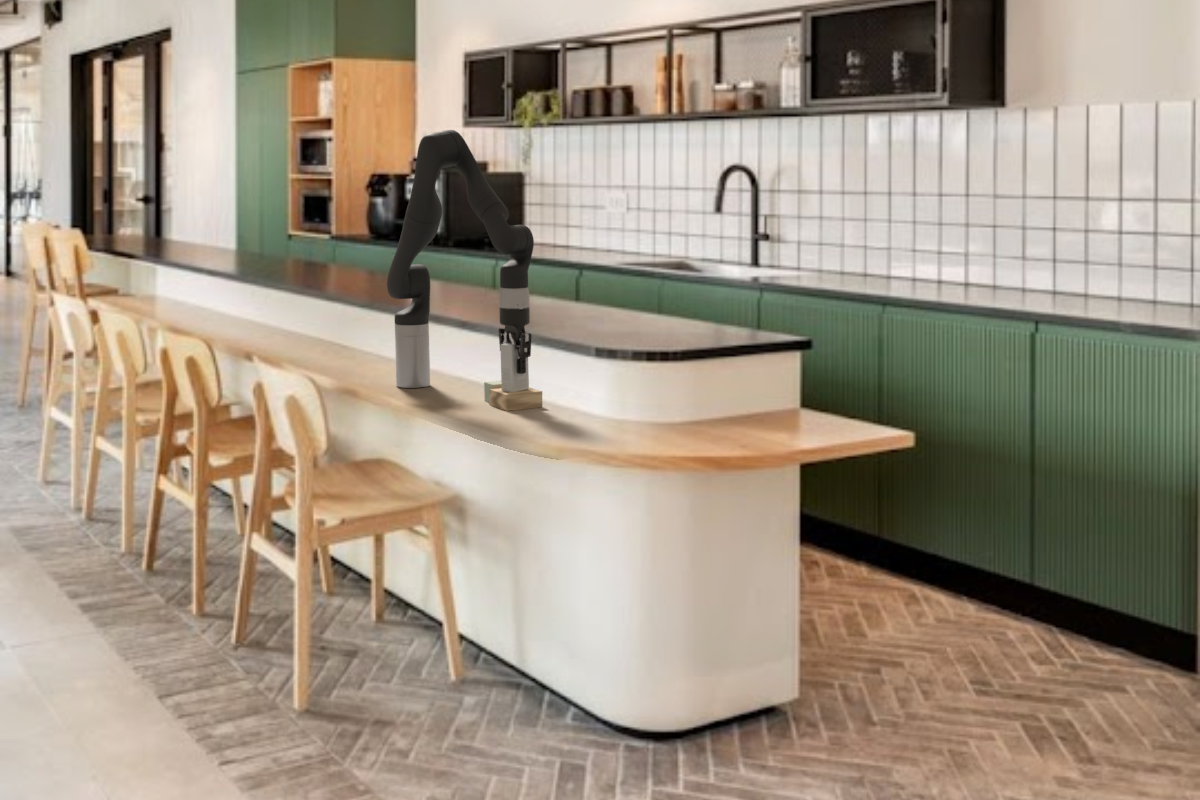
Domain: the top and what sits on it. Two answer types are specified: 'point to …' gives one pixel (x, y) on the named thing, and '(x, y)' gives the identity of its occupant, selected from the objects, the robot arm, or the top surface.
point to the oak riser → (515, 399)
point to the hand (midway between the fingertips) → (515, 371)
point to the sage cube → (491, 386)
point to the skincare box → (512, 370)
